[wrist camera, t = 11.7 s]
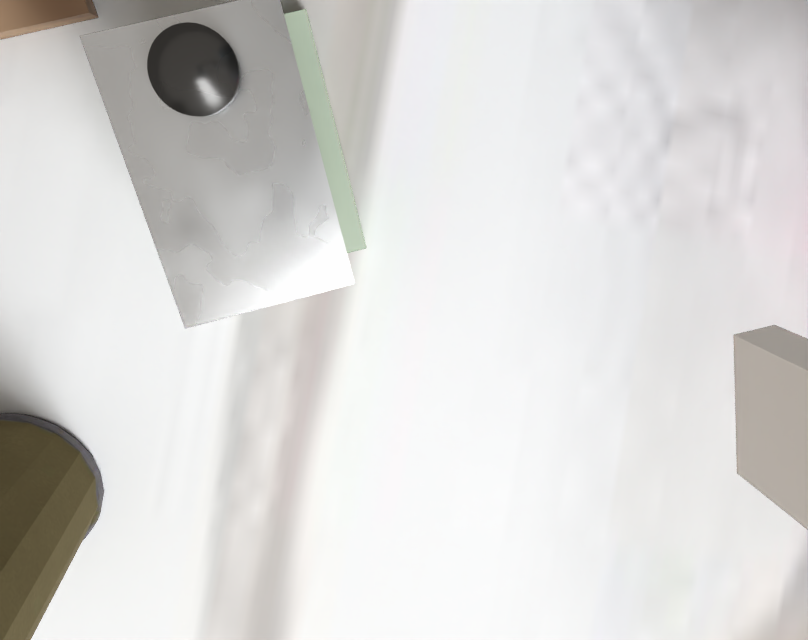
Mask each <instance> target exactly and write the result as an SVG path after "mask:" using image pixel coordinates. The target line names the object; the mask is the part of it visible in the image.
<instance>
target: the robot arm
mask: <svg viewBox="0 0 808 640" xmlns="http://www.w3.org/2000/svg"><path fill="white" fill-rule="evenodd" d="M734 374H735V414H736V454H737V474H739V475H740V476H741V477H742V478H744V479H745V480H746V481H747V482H749V483H750V484H751V485H752V486H754V487H755V488H756V489H757V490H759V491H760V492H761V493H762V494H764V495H765V496H766V497H767V498H769V499H770V500H771V501H772V502H774V503H775V504H776V505H777V506H779V507H780V508H781V509H782V510H784V511H785V512H786V513H787V514H789V515H790V516H791V517H792V518H794V519H795V520H796V521H797V522H799V523H800V524H801V525H802V526H803V527H805V528H806V529H807V530H808V339H807V338H805V337H802V336H800V335H797V334H795V333H793V332H790V331H788V330H786V329H783V328H781V327H779V326H776V325H772V326H768V327H764V328H760V329H756V330H751V331H747V332H743V333H739V334H735V335H734Z"/></svg>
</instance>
